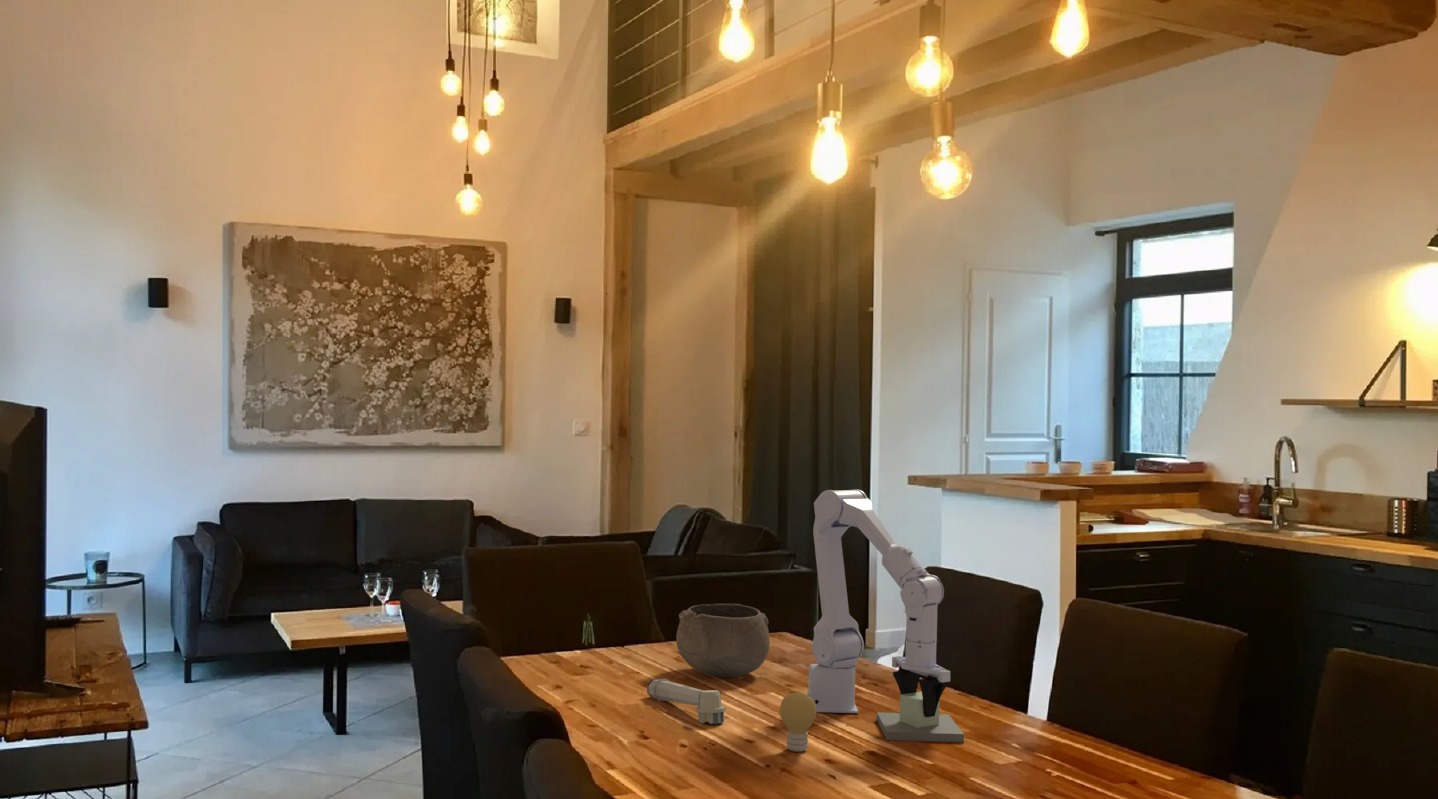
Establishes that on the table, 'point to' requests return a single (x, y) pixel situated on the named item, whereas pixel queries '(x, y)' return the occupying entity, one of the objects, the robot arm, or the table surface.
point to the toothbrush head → (689, 699)
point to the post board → (919, 729)
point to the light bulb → (797, 719)
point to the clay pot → (723, 639)
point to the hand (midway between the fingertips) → (919, 712)
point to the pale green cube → (916, 711)
